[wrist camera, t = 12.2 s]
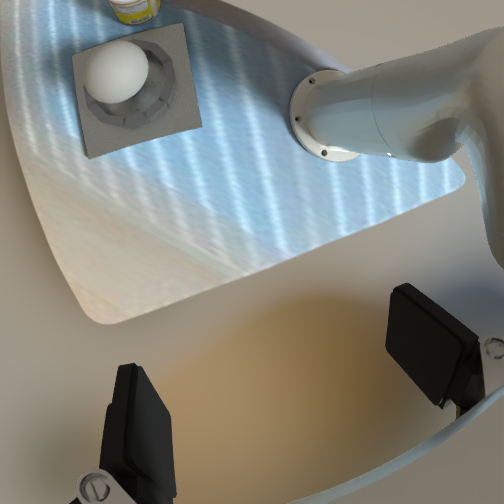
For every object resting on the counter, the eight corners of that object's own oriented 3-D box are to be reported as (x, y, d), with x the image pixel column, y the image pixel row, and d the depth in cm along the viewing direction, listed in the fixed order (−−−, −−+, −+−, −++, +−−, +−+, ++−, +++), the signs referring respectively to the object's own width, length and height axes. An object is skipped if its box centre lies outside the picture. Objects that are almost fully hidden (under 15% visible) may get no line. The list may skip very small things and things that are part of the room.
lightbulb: (98, 81, 26) (64, 58, 16) (143, 54, 26) (127, 19, 16) (118, 121, 29) (90, 113, 19) (165, 94, 29) (156, 72, 19)
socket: (168, 39, 26) (167, 30, 24) (182, 114, 30) (181, 111, 27) (87, 63, 25) (80, 57, 22) (100, 138, 29) (92, 138, 26)
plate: (182, 25, 27) (182, 22, 26) (202, 127, 32) (202, 126, 31) (74, 57, 25) (71, 56, 24) (91, 158, 30) (88, 159, 29)
